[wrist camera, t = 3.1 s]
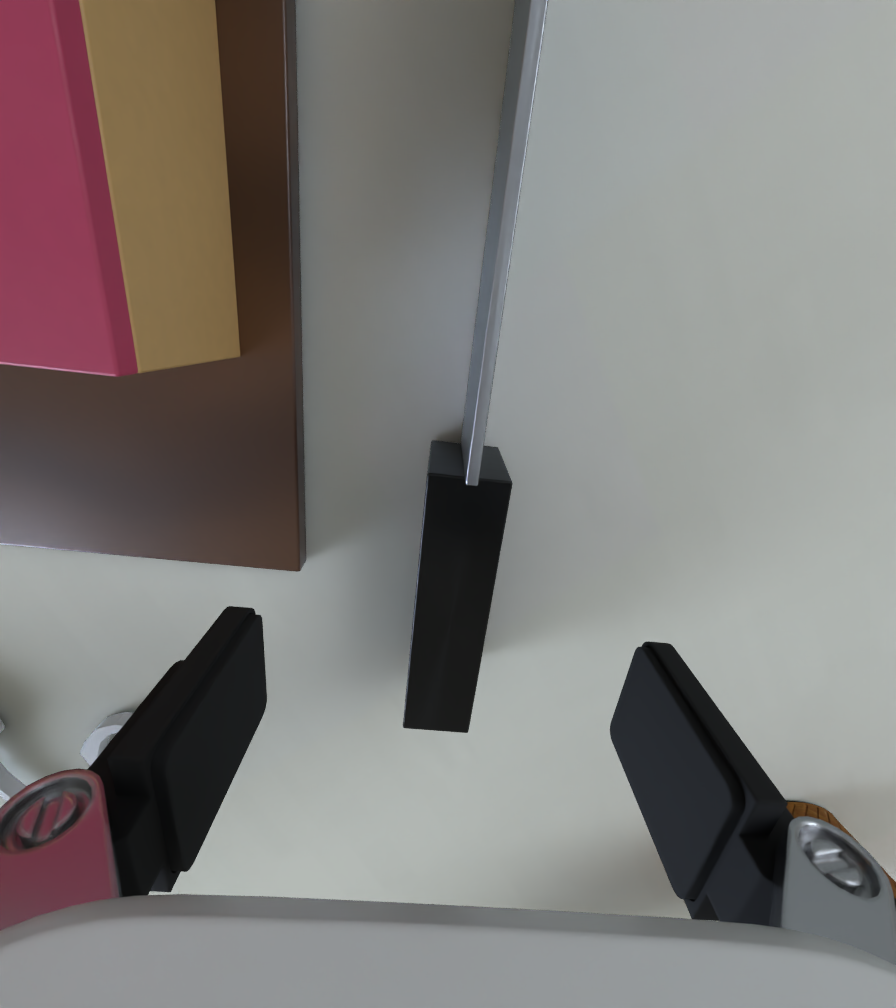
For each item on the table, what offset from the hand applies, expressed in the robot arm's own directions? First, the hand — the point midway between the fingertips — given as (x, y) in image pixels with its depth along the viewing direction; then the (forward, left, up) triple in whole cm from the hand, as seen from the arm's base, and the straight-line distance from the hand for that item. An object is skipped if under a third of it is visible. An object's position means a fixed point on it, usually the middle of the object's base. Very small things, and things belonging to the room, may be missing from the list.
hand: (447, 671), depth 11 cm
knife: (-6, 0, -5) cm, 8 cm away
